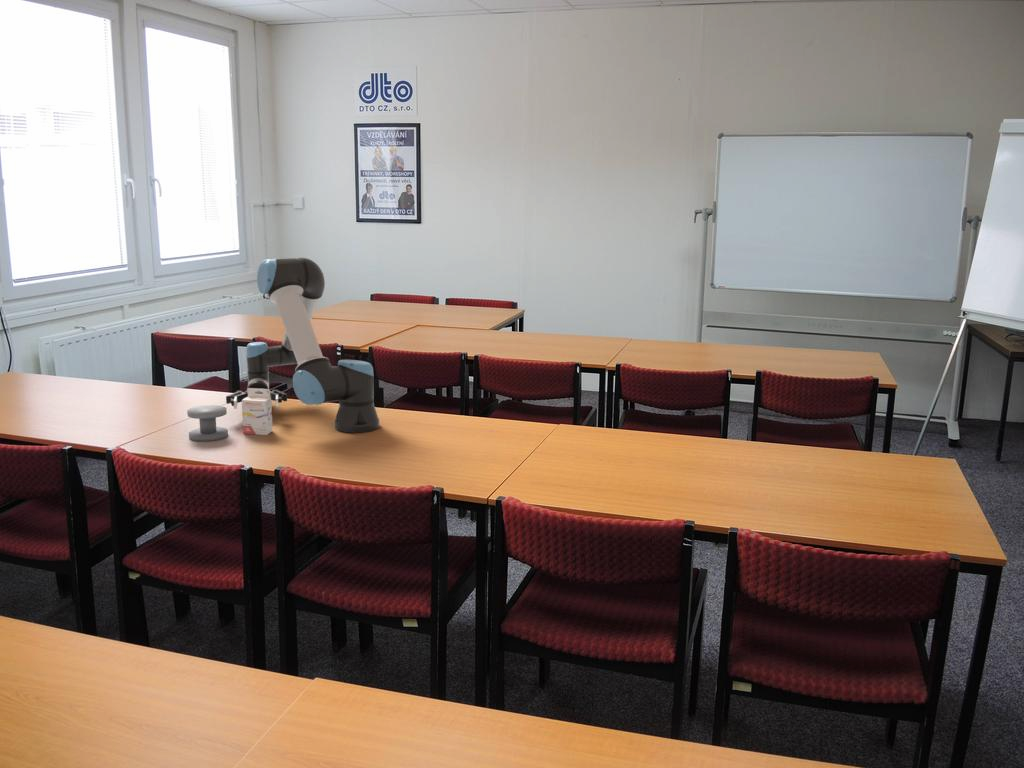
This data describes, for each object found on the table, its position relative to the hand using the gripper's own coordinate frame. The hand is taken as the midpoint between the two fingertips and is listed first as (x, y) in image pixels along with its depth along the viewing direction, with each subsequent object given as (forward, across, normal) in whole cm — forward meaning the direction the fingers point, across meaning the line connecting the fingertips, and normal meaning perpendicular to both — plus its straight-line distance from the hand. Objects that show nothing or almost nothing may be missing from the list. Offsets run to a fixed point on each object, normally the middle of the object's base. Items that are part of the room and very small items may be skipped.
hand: (256, 403), depth 281 cm
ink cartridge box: (+6, 0, -9) cm, 11 cm away
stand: (+8, +15, -8) cm, 19 cm away
